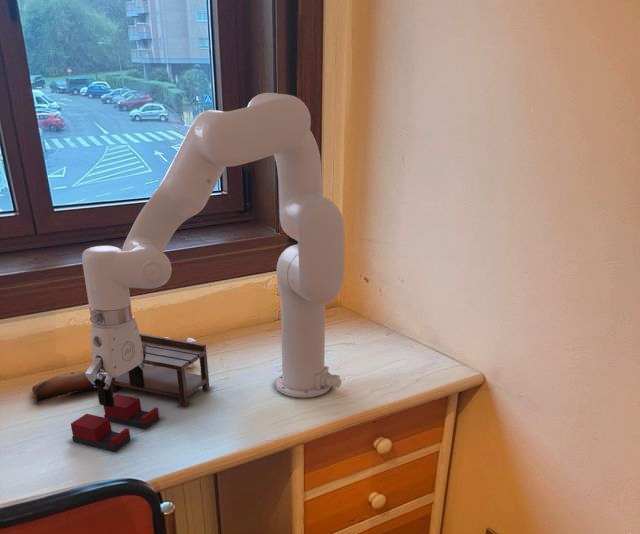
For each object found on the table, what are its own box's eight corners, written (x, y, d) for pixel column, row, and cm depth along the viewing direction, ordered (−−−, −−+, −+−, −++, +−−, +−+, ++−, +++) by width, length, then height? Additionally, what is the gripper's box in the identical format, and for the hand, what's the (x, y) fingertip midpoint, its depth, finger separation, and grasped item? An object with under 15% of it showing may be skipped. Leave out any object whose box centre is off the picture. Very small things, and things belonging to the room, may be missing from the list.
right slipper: (159, 419, 132) (157, 401, 130) (145, 429, 128) (143, 411, 126) (119, 410, 135) (116, 393, 133) (104, 420, 131) (101, 402, 129)
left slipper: (131, 440, 124) (128, 422, 122) (115, 452, 120) (112, 433, 118) (89, 430, 128) (86, 412, 126) (72, 441, 124) (69, 423, 122)
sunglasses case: (110, 370, 151) (111, 353, 146) (120, 395, 148) (121, 378, 143) (29, 387, 143) (27, 369, 137) (38, 413, 140) (36, 396, 135)
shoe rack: (209, 388, 145) (205, 344, 140) (185, 407, 137) (180, 361, 131) (136, 374, 151) (130, 331, 146) (109, 391, 143) (101, 346, 138)
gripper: (97, 331, 113) (110, 417, 121) (155, 304, 127) (163, 382, 135) (63, 325, 115) (78, 409, 123) (123, 299, 129) (133, 376, 137)
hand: (122, 395), depth 129 cm, fingers open, 9 cm apart
